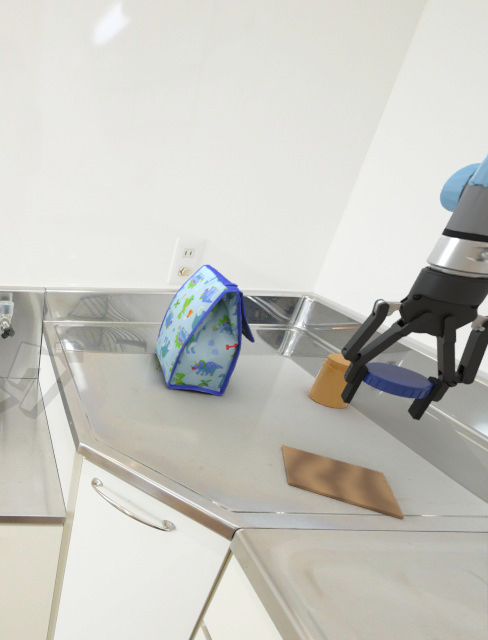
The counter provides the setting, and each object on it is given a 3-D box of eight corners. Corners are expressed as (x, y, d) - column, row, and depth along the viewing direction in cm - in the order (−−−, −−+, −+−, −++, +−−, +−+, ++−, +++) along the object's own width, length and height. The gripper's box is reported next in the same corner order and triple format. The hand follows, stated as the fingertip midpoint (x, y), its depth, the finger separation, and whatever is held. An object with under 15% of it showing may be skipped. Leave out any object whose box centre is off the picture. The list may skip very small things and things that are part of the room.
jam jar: (343, 396, 103) (363, 357, 98) (350, 411, 97) (373, 371, 92) (305, 387, 106) (324, 349, 101) (310, 402, 100) (330, 362, 95)
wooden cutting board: (381, 475, 78) (382, 472, 77) (402, 519, 68) (404, 516, 68) (281, 447, 84) (282, 444, 83) (288, 484, 74) (289, 482, 74)
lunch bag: (236, 399, 99) (279, 292, 87) (163, 390, 101) (195, 284, 89) (208, 358, 118) (240, 265, 106) (148, 351, 120) (171, 259, 108)
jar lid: (346, 370, 71) (351, 360, 70) (397, 373, 71) (403, 363, 70) (385, 397, 64) (392, 386, 63) (442, 400, 64) (449, 390, 63)
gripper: (373, 263, 59) (306, 399, 70) (586, 291, 52) (473, 439, 63) (360, 254, 65) (300, 380, 76) (549, 277, 58) (452, 415, 69)
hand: (378, 407), depth 69 cm, fingers closed on jar lid, 8 cm apart
